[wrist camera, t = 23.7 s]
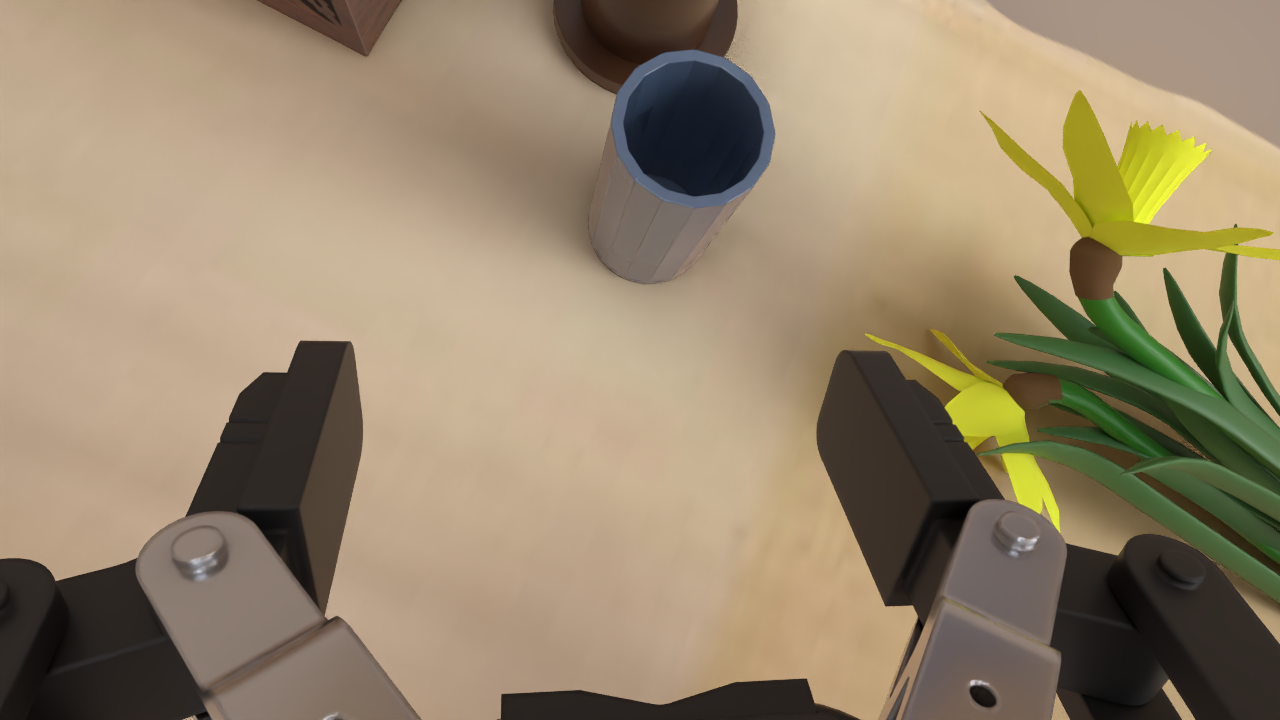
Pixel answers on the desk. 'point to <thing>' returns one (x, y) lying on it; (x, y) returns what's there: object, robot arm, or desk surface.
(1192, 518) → the daffodil flowers
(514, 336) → the desk surface
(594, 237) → the cup
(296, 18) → the tissue box cover
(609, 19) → the stand
